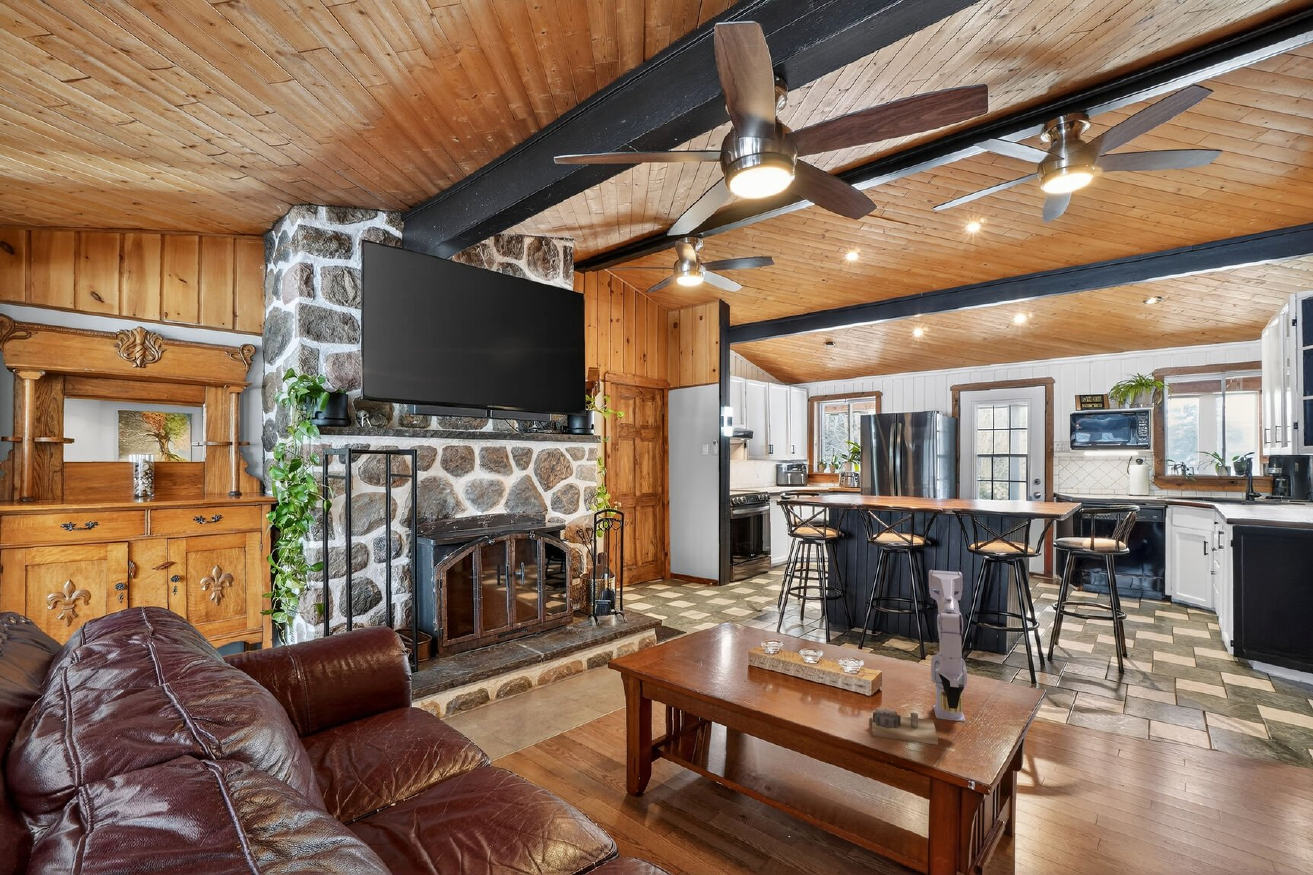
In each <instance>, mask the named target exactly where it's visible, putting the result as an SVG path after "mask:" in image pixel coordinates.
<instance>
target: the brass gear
mask: <svg viewBox="0 0 1313 875" xmlns="http://www.w3.org/2000/svg"><path fill="white" fill-rule="evenodd" d="M963 697H964V696H963V694H962V695H960V699H959V704H958V708H957V709H952V708H949V706H948V702H947V696H946V692H945V691H944V692H941V693H940V707H941V708H942V710H946V711H947V712H951V713H954V712H956V713H959V712H963V709H964V708H963V705H964V704H963Z"/></svg>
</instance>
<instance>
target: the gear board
mask: <svg viewBox="0 0 1313 875" xmlns="http://www.w3.org/2000/svg"><path fill="white" fill-rule="evenodd" d="M871 728H872V730H871V732H872V736H873V737H877V738H878V737H880V738H886V739H894V740H900V741H908V742H915V743H922V744H930V745H937V746H938V745H939V738H938V737H939V736H938V735H937V730H936V726H935V723H934V720H933V719H928V718H920V717H919V713H917V712H910V716H905V715H901V714H900V715H899V714H898V712H897V711H895V710H893V711H892V710H889V709H887V708H884V709H878V708H877V709H875V711H872V712H871Z"/></svg>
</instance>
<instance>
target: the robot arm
mask: <svg viewBox="0 0 1313 875" xmlns="http://www.w3.org/2000/svg"><path fill="white" fill-rule="evenodd" d="M963 582H964V580H963V573H962V572H961V571H949V570H947V571H946V570H935V569H934V570H933V569H930V570H928V588H929V590H928V591H929V595H930V598H932V599H933V600H935V601H936V604H937V612H938V614H937V616H936V618H937V620H936V624H937V631H938V639H939V640H938V641H939V645H938V646H939V652H937V653H936V654H933V655H932V657H931V658H930V660H931V661H930V678H931V682H932V683H933V684H935V701H936V702H935V704H934V705H933V710H934V714H935V718H936V719H939V720H940V719H941V720H948V721H956V722H964V723H965V722H966V721H967V720H966V718H965V715H964V713H963V711H962V712H959V713H956V712H954V713H951V712H947V711H946V710H942V708H941V707H940V693H941V692H944V691H945V692H946V696H947V702H948V706H949V708H952V709H957V708H958V704H959V699H960V695H962V696H963V691H964V690H965V688H966V687H967V685H968V677H967V676H968V673H967V666H966V665H967V664H966V662H965V660H964V659H963V658H962V656H963V654H962V653H963V651H962V650H963V648H962V635H964V634H963V632H964V619H963V615H962V612H960V611H961V610H960V606H959V605H960V604H959V602H958V601H960V600H962V596H963V589H964V588H963V587H964V584H963Z"/></svg>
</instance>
